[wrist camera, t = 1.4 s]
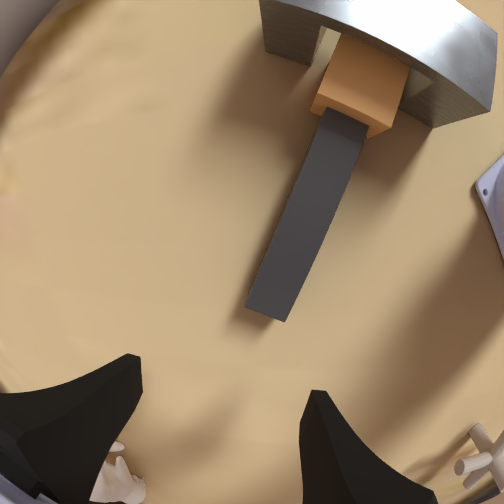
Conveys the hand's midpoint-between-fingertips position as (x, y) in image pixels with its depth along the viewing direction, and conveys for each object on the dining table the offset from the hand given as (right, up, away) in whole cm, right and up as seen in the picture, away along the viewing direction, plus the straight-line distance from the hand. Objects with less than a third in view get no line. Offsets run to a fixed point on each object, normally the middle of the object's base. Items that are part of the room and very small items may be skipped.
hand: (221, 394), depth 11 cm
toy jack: (+27, -14, +10) cm, 32 cm away
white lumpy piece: (-14, -19, +15) cm, 28 cm away
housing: (+9, +19, +4) cm, 21 cm away
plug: (+5, +10, +6) cm, 13 cm away
